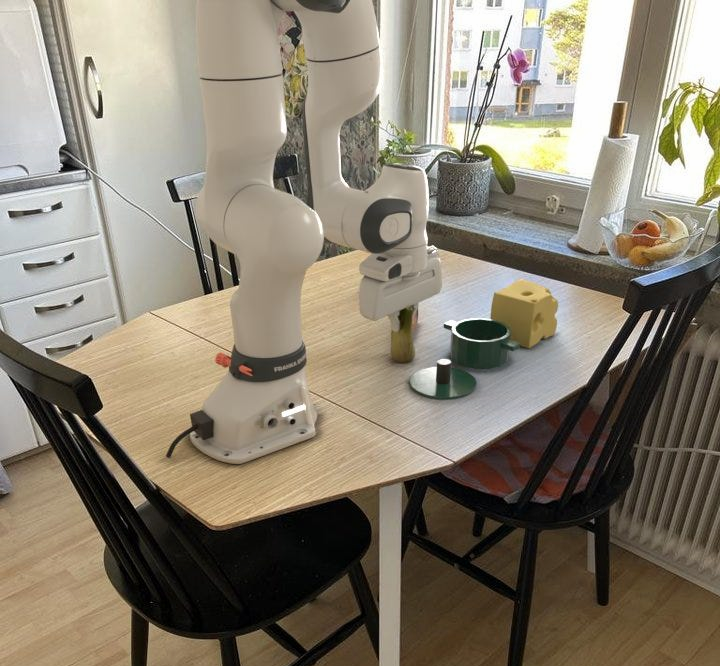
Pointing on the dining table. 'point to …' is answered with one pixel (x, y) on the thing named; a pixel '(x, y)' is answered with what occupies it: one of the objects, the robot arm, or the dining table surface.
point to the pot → (480, 343)
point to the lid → (443, 381)
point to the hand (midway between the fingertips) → (402, 327)
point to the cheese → (526, 311)
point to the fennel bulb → (403, 339)
